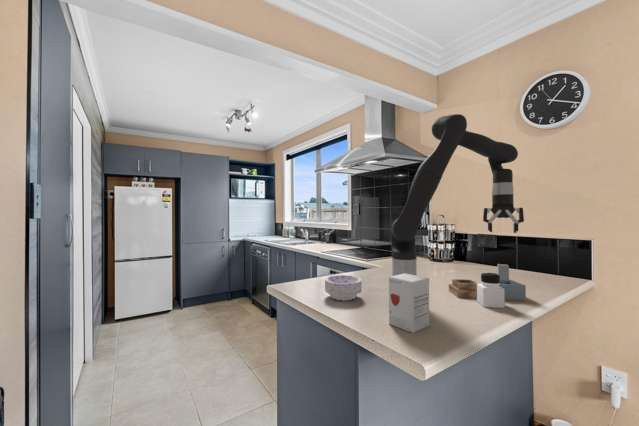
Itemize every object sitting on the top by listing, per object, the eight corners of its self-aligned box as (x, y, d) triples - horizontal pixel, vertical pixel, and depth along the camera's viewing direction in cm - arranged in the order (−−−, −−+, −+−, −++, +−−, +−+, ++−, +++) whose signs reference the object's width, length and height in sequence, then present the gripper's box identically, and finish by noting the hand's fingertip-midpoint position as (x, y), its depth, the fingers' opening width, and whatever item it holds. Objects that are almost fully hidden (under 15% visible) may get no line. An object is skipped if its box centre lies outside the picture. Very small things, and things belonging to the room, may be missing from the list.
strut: (511, 295, 114) (510, 266, 114) (497, 294, 116) (497, 265, 116) (509, 292, 118) (508, 264, 118) (495, 291, 120) (495, 263, 120)
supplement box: (387, 324, 87) (387, 276, 87) (405, 317, 93) (404, 272, 93) (413, 333, 80) (412, 281, 80) (430, 326, 85) (429, 277, 86)
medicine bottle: (505, 308, 101) (504, 275, 101) (483, 307, 103) (483, 274, 103) (496, 302, 108) (496, 271, 108) (476, 301, 110) (476, 271, 110)
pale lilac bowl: (338, 305, 105) (338, 284, 105) (318, 296, 118) (318, 277, 118) (369, 299, 113) (369, 280, 113) (347, 290, 126) (347, 273, 126)
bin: (496, 299, 112) (496, 284, 112) (483, 291, 123) (483, 278, 123) (525, 300, 111) (525, 285, 111) (510, 292, 122) (509, 278, 122)
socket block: (457, 297, 115) (457, 284, 115) (448, 290, 125) (448, 278, 125) (482, 297, 114) (482, 284, 114) (472, 291, 124) (472, 279, 124)
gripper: (483, 194, 117) (484, 232, 117) (525, 192, 111) (525, 233, 111) (482, 195, 124) (482, 231, 124) (521, 194, 118) (521, 232, 117)
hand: (502, 232), depth 117 cm, fingers open, 8 cm apart
